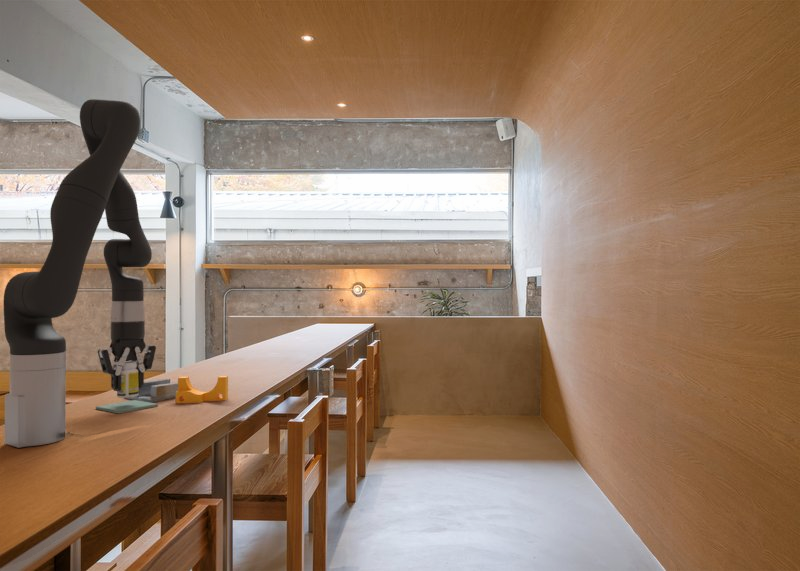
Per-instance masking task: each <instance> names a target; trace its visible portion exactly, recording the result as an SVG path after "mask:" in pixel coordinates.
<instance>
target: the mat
mask: <svg viewBox="0 0 800 571" xmlns="http://www.w3.org/2000/svg"><path fill="white" fill-rule="evenodd" d="M158 406H159V404H158V403H156V402H152V403H150V402H144V401H138V400H128V401H121V402H114V403H110V404H109V403H108V404H104V405H103V404H102V405H96V406H95V410H98V411H104V412H109V413H114V414H122V413H129V412H134V411H140V410H144V409H145V410H146V409H150V408H156V407H158Z"/></svg>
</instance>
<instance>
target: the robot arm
mask: <svg viewBox="0 0 800 571" xmlns="http://www.w3.org/2000/svg"><path fill="white" fill-rule="evenodd" d="M79 123H80V128H81V132H82V135H83V138H84V141H85V145H86V147H87V150H88V153H89V156H88V157H87V158H86V159H85V160H83V161H82V162H81V163H79V164H78V165H77V166H76V167H74V168H73V169H72V170H71V171H70V172H69V173H67V175H66V176H64V177H63V179H62V181H61V182H60V184H59V186H58V189H57V191H56V193H55V195H54V199H53V200H52V203H51V206H50V213H49V214H50V216H49V217H50V224H51V232H52V240H51V246H50V249H49V252H48V255H47V257H46V258H45V261H44V263H43V265H42V267H41V268H40V269H39V271H24V272H20V273H18V274H17V273H16V275H14V276H12V277H11V278H10V279H9V281H8V282H7V283H6V285H5V289H4V293H3V301H2V302H3V304H2V305H3V322H4V335H5V336H4V337H5V339H6V341H7V343H8V346H9V393H8V392H7V393H5V395H4V444H6V445H9V446H11V447H15V448H25V447H35V446H43V445H47V444H53V443H57V442H60V441H62V440H64V439H65V438H66V429H67V428H66V427H67V426H66V400H67V399H66V388H67V387H66V385H67V384H66V381H67V380H66V378H67V377H66V376H67V375H66V374H67V371H66V369H67V367H66V366H67V365H66V363H67V361H66V360H67V353H66V351H67V342H66V341H67V340H66V338H65V337H64V336H63V335H62V334H59V333H58V332H57V331H56V330H55V328H54V326H53V319H56V318H59V317H62V316H64V315H65V314H66V313H68V311H69V310H71V308H72V306H73V304H74V302H75V300H76V297H77V294H78V291H79V287H80V282H81V278H82V275H83V271H84V267H85V262H86V259H87V256H88V254H89V251H90V249H91V245H92V242H93V239H94V237H95V234H96V232H97V229H98V226H99V225H100V222H101V220H102V217H103V214H104V212H105V218H106V224H107V227H108V229H109V230H110V231H112V232H114V233H115V232H116V233H119V234H120V233H121V234H123V235H126V236H127V237H128V238H111V239H109V240H108V241H107V242H106V243H105V245H104V247H103V258H104V261H105V264H106V267H107V271H108V274H109V278H110V283H111V307H110V341H111V343H110V345H109V347H107V348H104V349H102V348H99V349H97V356H98V359H99V363H100V367H101V371H102V373H104V374H107V375H110V386H111V389H112V390H113V392H117V391H120V390H121V376H120V373H121V370H122V367H123V366H124V364H125V362H128V361H135V362H137V367H136V369H137V370H138V384H139V388H141V387H142V385H143V384H144V381H145V371H147V370H151V369H152V368H153V363H154V359H155V355H156V350H157V347H156V345H153V344H152V345H151V344H150V345H148V344H146V342H145V340H144V339H145V337H146V336H145V333H146V332H145V330H146V329H145V328H146V326H145V325H146V324H145V322H146V320H145V319H146V318H145V317H146V314H145V305H144V300H145V299H144V291H145V290H144V281H143V279H142V278H140V277H136V276H131V275H127V274H126V273H125V271H124V270H123V268H144V267H146V266H148V265H149V264H150V262H151V261H152V256H153V252H152V248H151V245H150V243H149V240H148V238H147V237H146V234H145V233H144V229H143V227H142V224H141V222H140V217H139V216H140V215H139V210H138V203H137V196H136V194H135V193H136V192H135V191H134V189H133V188H132V185H131V184H130V182H129V181H128V179H127V177H126V176H125V175H124V174H123V172H122V171H121V169H122V167H123V165H124V163H125V161H126V159H127V157H128V155H129V154H130V152H131V150H132V148H133V146H134V144H135V143H136V140H137V138H138V135H139V131H140V128H141V116H140V113H139V109H138V108H137V107H136V106H135V105H134V104H132V103H131V102H128V101H123V100H112V99H97V98H96V99H93V98H91V99H87V100H86V101H84V102H83V104H82V105H81V107H80V110H79ZM143 352H144V356H142V353H143ZM111 353H112V354H111ZM111 356H114V357H113V359H112V362H111V358H110V357H111Z"/></svg>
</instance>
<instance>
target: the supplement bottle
mask: <svg viewBox="0 0 800 571" xmlns="http://www.w3.org/2000/svg"><path fill="white" fill-rule="evenodd" d="M136 367H137V362H135V361H131V360H129V361H126V362H125V364H124V366H123V367H122V370H121V373H120V376H121V390H120V391H116V397H117V398H118V399H119V398H120V399H126V398H130V397H136V396H138V394H139V384H138V370H137V369H136Z"/></svg>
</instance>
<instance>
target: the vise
mask: <svg viewBox="0 0 800 571" xmlns="http://www.w3.org/2000/svg"><path fill="white" fill-rule="evenodd" d="M176 391H178V381H175V382H171V378H160V379H153V380H144V384H143V385H142V387H141V388H139V394H138V396H136V397H130V398H125V399H127V400H130V401H132V400H138V401H144V402H150V403H156V402H161V401H166V400H170V399H171V400H172V399H176Z"/></svg>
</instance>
